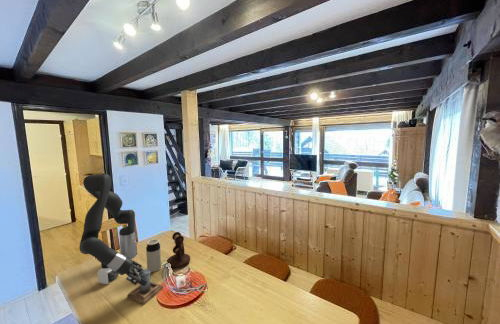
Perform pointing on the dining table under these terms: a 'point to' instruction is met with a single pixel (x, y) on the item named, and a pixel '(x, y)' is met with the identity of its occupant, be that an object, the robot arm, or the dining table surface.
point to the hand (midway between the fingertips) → (146, 279)
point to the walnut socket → (144, 297)
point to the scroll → (178, 252)
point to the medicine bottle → (106, 275)
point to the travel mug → (153, 255)
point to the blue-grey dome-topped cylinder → (145, 276)
